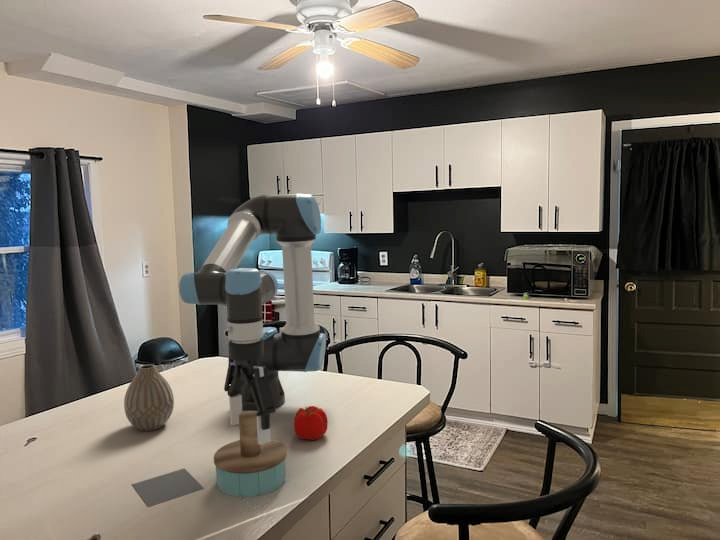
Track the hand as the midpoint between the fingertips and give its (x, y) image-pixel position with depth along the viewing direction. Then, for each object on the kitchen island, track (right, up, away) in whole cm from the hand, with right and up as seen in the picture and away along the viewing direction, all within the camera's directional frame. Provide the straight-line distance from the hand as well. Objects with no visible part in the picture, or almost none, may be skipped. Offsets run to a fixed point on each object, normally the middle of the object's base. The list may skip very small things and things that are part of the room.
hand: (249, 432), depth 124 cm
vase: (-35, -8, +34) cm, 49 cm away
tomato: (+11, -9, +25) cm, 28 cm away
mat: (-18, -12, -1) cm, 22 cm away
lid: (0, -5, +1) cm, 5 cm away
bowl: (0, -11, +1) cm, 11 cm away
